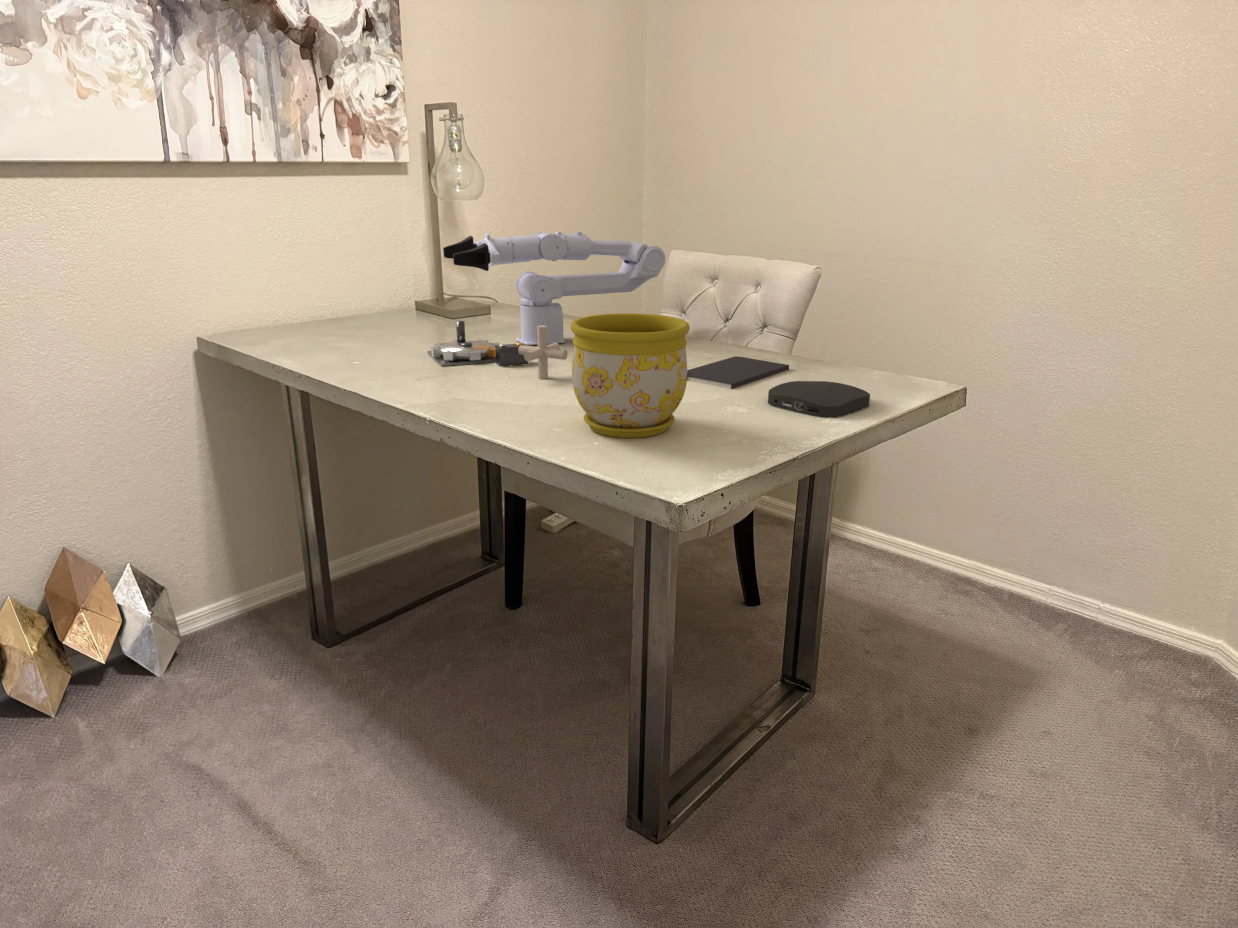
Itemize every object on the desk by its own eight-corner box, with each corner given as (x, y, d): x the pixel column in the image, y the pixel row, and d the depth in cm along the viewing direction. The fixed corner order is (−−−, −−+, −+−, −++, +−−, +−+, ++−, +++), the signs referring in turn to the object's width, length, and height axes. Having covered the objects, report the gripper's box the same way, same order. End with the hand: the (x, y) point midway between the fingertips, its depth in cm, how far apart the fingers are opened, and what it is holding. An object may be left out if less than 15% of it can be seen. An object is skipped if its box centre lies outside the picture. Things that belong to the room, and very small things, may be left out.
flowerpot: (680, 410, 143) (683, 313, 137) (692, 443, 126) (696, 333, 120) (572, 411, 142) (571, 312, 137) (570, 444, 125) (569, 333, 120)
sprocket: (490, 344, 190) (489, 317, 188) (509, 357, 178) (508, 328, 176) (425, 349, 185) (423, 321, 183) (440, 363, 172) (438, 333, 170)
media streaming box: (877, 406, 147) (879, 389, 146) (831, 422, 138) (832, 404, 137) (806, 390, 157) (807, 375, 156) (758, 405, 148) (759, 388, 147)
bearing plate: (490, 348, 190) (490, 346, 190) (508, 361, 178) (507, 358, 178) (427, 353, 185) (427, 351, 185) (441, 366, 173) (441, 364, 173)
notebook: (731, 392, 157) (788, 372, 172) (731, 383, 156) (789, 364, 172) (675, 381, 165) (735, 363, 180) (676, 373, 164) (736, 355, 179)
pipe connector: (507, 380, 162) (505, 328, 159) (535, 369, 170) (534, 320, 167) (551, 386, 158) (550, 333, 154) (578, 375, 166) (578, 324, 163)
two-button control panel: (523, 362, 178) (523, 341, 177) (528, 365, 175) (527, 344, 174) (496, 364, 176) (495, 343, 174) (500, 367, 173) (499, 346, 172)
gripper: (497, 226, 192) (438, 231, 187) (518, 237, 180) (456, 243, 175) (499, 257, 195) (441, 263, 190) (520, 271, 183) (459, 277, 178)
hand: (448, 256), depth 183 cm, fingers open, 7 cm apart
